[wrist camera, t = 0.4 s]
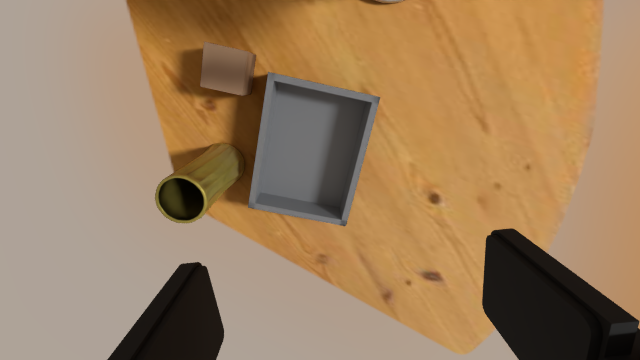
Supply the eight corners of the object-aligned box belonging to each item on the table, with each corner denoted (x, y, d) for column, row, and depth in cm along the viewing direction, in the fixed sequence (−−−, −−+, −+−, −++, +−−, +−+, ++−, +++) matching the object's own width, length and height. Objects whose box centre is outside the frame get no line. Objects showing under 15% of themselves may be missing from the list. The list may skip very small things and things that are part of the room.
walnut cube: (218, 46, 39) (203, 41, 34) (256, 55, 39) (247, 51, 34) (214, 86, 40) (200, 86, 35) (250, 94, 40) (242, 95, 36)
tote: (274, 73, 39) (268, 72, 35) (372, 95, 40) (380, 97, 36) (255, 194, 45) (248, 207, 40) (342, 211, 46) (345, 226, 41)
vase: (203, 181, 44) (152, 225, 31) (202, 141, 42) (146, 168, 29) (244, 184, 44) (212, 229, 31) (244, 144, 42) (210, 173, 29)
